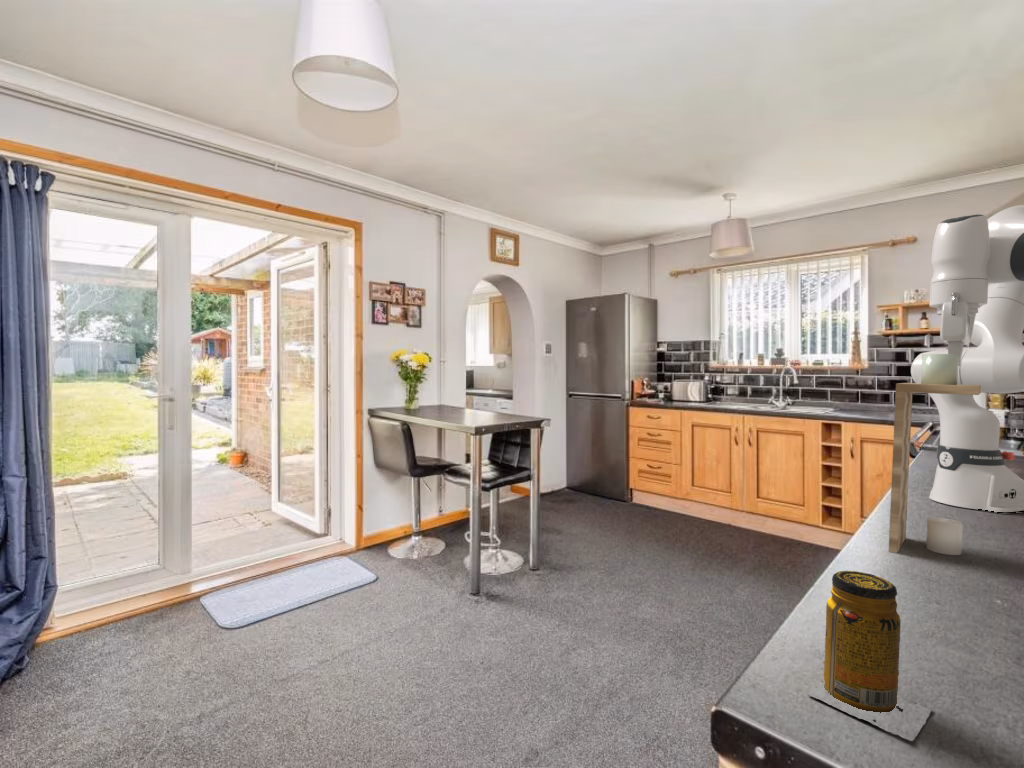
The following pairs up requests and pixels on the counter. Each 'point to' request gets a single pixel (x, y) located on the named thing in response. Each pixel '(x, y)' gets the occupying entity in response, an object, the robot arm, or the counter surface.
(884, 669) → the condiment
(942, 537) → the cream rounded cylinder
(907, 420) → the oak counter shelf
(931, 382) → the pale green cylinder
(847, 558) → the counter surface
